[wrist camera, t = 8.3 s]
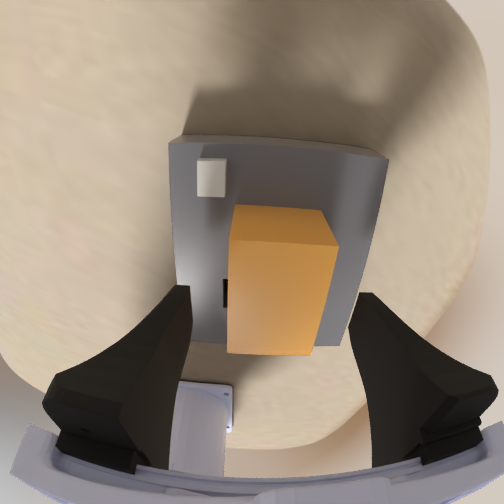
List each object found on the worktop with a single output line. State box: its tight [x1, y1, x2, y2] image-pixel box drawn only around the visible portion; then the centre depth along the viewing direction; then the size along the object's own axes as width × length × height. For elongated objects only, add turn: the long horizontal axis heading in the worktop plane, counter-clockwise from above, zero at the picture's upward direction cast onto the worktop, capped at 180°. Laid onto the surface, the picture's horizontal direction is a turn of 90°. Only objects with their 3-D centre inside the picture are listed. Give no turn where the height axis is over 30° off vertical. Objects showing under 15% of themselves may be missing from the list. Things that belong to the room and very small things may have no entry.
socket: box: [169, 135, 389, 346], centre depth 16 cm, size 12×10×3 cm
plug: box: [227, 204, 339, 356], centre depth 15 cm, size 6×4×6 cm, turn 176°
